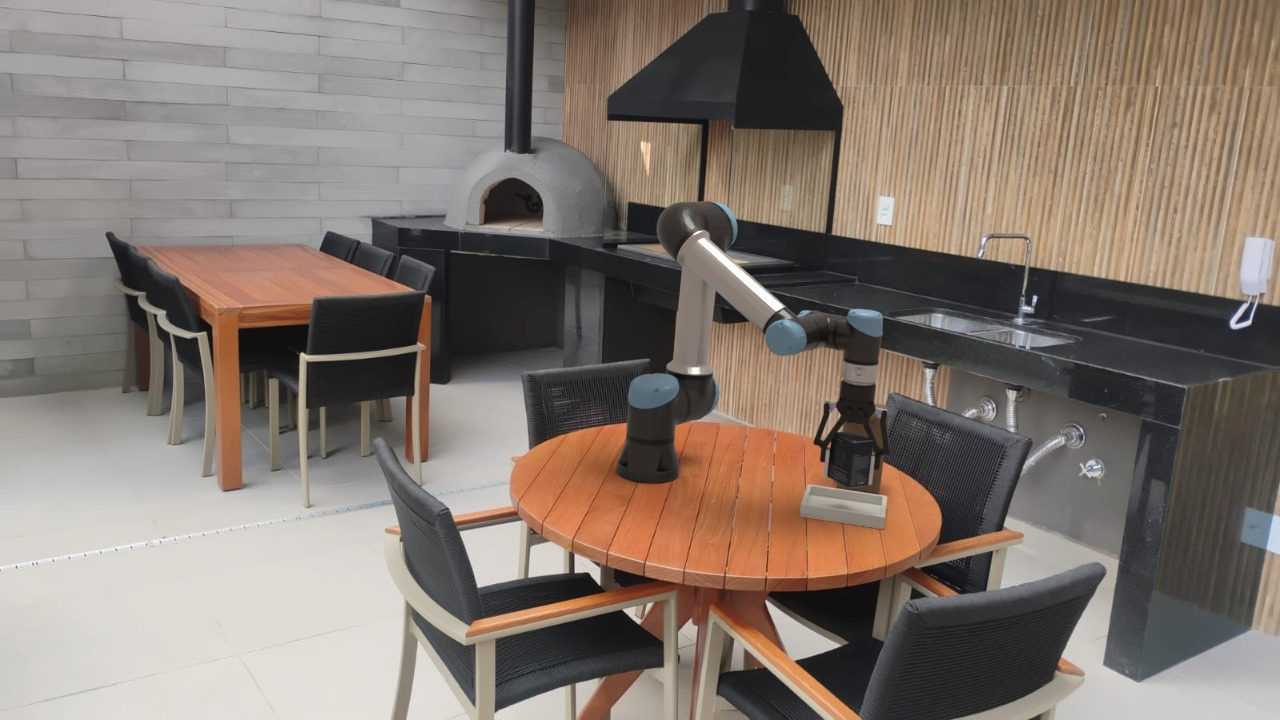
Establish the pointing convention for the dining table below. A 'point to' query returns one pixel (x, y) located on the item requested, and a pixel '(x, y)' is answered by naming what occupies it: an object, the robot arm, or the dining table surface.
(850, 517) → the tray
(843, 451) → the box
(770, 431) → the dining table surface
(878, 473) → the wooden block
